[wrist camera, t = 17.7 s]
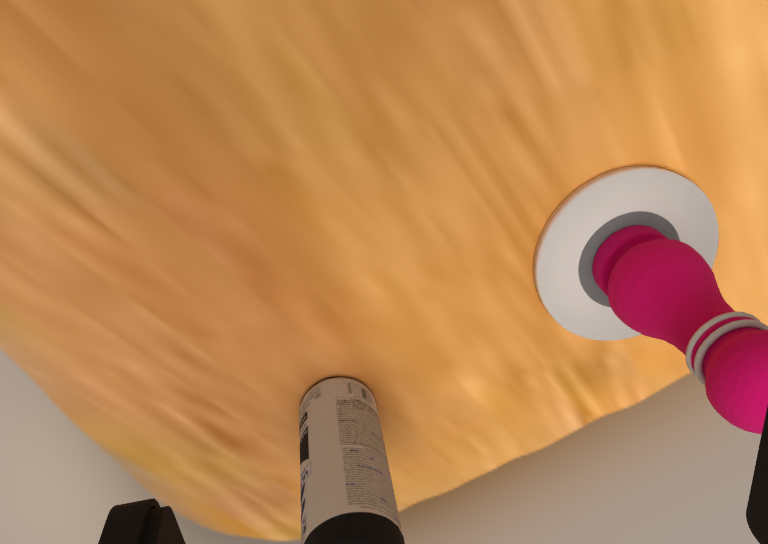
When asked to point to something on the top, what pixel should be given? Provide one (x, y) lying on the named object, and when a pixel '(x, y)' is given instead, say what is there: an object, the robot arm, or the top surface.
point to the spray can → (344, 468)
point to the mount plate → (599, 221)
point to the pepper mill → (688, 318)
